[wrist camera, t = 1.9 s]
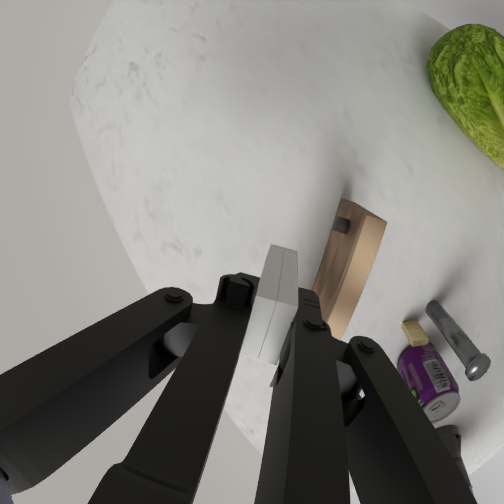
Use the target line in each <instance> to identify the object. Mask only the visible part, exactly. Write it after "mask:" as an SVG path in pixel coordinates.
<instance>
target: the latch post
mask: <svg viewBox="0 0 504 504" xmlns="http://www.w3.org/2000/svg"><path fill="white" fill-rule="evenodd" d="M426 313H427V315H428V316H429V317H430V319H431V320H432V321H433V323H434V324H435V325H436V327H437V328H438V329H439V331H440V332H441V333H442V335H443V336H444V337H445V339H446V340H447V342H448V343H449V344H450V346H451V347H452V349H453V350H454V352H455V353H456V354H457V356H458V357H459V359H460V360H461V362H462V363H463V365H464V366H465V368H466V370H465V374H466V376H467V378H468V379H469V380H470V381H475V380H477V379H479V378H481V377H482V376H483V375H484V374H485V373H486V372H487V370H488V369H489V367H490V363H491V361H490V359H489V357H488V356H487V355H486V354H484V353H482V354H481V353H480V351H479V350H478V349H477V348H476V346H475V345H474V344H473V343H472V341H471V340H470V339H469V338H468V336H467V335H466V334H465V333H464V332H463V330H462V329H461V328H460V327H459V326H458V324H457V323H456V322H455V321H454V320H453V319H452V317H451V316H450V315H449V314H448V313H447V312H446V311H445V309H444V308H443V307H442V306H441V305H440V304H439V303H438V302H437V301H431V302H430V303H429V304H428V305H427V307H426Z"/></svg>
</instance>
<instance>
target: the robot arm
mask: <svg viewBox="0 0 504 504" xmlns="http://www.w3.org/2000/svg"><path fill="white" fill-rule="evenodd" d="M320 308H321V307H320V301H319V297H318V296H317V294H316V293H315V292H314V291H311V290H307V289H303V288H299V287H298V260H297V251H295V250H291V249H287V248H284V247H280V246H276V245H273V244H271V245H270V249H269V252H268V255H267V258H266V262H265V265H264V268H263V271H262V274H261V278H259V277H256V276H252V275H248V274H245V273H241V272H240V273H237V274H235V275H233V274H228V275H224V276H222V277H221V278H220V281H219V286H218V291H217V296H216V299H215V301H214V303H213V304H196V303H193V297H192V296H191V295H190V293H188V292H186V291H185V290H182V289H180V288H175V287H168V288H162V289H159V290H157V291H155V292H153V293H151V294H149V295H148V296H146V297H144V298H142V299H140V300H138V301H136V302H134V303H133V304H131V305H129V306H127V307H125V308H123V309H121V310H119V311H118V312H115V313H114V314H112V315H110V316H108V317H106V318H104V319H102V320H100V321H98V322H97V323H95V324H93V325H91V326H89V327H87V328H85V329H84V330H82V331H80V332H78V333H76V334H74V335H73V336H71V337H69V338H67V339H65V340H63V341H61V342H59V343H58V344H56V345H54V346H52V347H50V348H48V349H46V350H45V351H43V352H41V353H39V354H37V355H36V356H34V357H32V358H30V359H28V360H26V361H24V362H23V363H21V364H19V365H17V366H15V367H13V368H12V369H10V370H8V371H6V372H4V373H3V374H1V375H0V504H14V503H13V501H12V496H11V495H12V494H16V493H20V492H22V491H25V490H27V489H29V488H31V487H34V486H35V485H37V484H38V483H40V482H41V481H43V480H44V479H46V478H47V477H48V476H50V475H51V474H52V473H53V472H55V471H56V470H57V469H59V468H60V467H61V466H62V465H64V464H65V463H66V462H67V461H68V460H70V459H71V458H72V457H73V456H75V455H76V454H77V453H78V452H80V451H81V450H82V449H83V448H84V447H86V446H87V445H88V444H89V443H90V442H92V441H93V440H94V439H95V438H96V437H98V436H99V435H100V434H101V433H102V432H103V431H105V430H106V429H107V428H108V427H109V426H111V425H112V424H113V423H114V422H115V421H116V420H118V419H119V418H120V417H121V416H122V415H123V414H125V413H126V412H127V411H128V410H129V409H130V408H131V407H132V406H134V405H135V404H136V403H137V402H138V401H139V400H140V399H142V398H143V397H144V396H145V395H146V394H147V393H148V392H150V390H152V389H153V388H154V387H155V386H156V385H157V384H159V383H160V382H161V381H162V380H163V379H164V378H165V377H166V376H167V375H168V374H169V373H171V372H172V371H173V370H174V369H175V368H176V369H175V371H174V373H173V374H172V376H171V378H170V380H169V381H168V383H167V385H166V387H165V389H164V390H163V392H162V394H161V396H160V397H159V399H158V401H157V403H156V405H155V406H154V408H153V410H152V412H151V413H150V415H149V417H148V419H147V420H146V422H145V424H144V426H143V427H142V429H141V431H140V433H139V435H138V436H137V438H136V440H135V442H134V443H133V445H132V447H131V449H130V451H129V453H128V454H127V456H126V458H125V459H124V460H123V461H122V462H121V463H118V464H114V465H113V466H112V467H111V468H110V469H108V471H107V472H106V474H105V475H104V476H103V478H102V480H101V481H100V483H99V485H98V487H97V488H96V490H95V492H94V494H93V495H92V497H91V499H90V500H89V502H88V504H193V501H194V498H195V495H196V492H197V489H198V486H199V483H200V479H201V476H202V473H203V470H204V467H205V464H206V461H207V458H208V455H209V452H210V449H211V445H212V442H213V439H214V436H215V433H216V430H217V427H218V424H219V420H220V417H221V414H222V411H223V408H224V404H225V401H226V398H227V395H228V391H229V388H230V385H231V381H232V378H233V375H234V372H235V368H236V365H237V362H238V358H239V355H240V356H244V357H247V358H251V359H255V360H258V361H262V362H266V363H270V364H274V365H277V362H278V360H279V357H280V360H279V365H278V367H277V370H276V372H275V375H274V377H273V380H272V382H271V384H270V387H273V393H272V400H271V407H270V414H269V420H268V427H267V433H266V439H265V446H264V452H263V458H262V464H261V470H260V475H259V481H258V486H257V491H256V497H255V503H254V504H350V486H349V472H350V475H351V478H352V481H353V484H354V486H355V489H356V492H357V495H358V498H359V501H360V503H361V504H477V502H476V500H475V498H474V496H473V491H472V486H471V483H470V480H469V478H468V474H467V471H466V469H465V466H464V463H463V460H462V458H461V435H460V432H459V430H458V428H457V427H456V426H445V427H441V428H438V429H435V428H434V426H433V425H432V423H431V421H430V420H429V418H428V417H427V415H426V413H425V412H424V410H423V409H422V407H421V406H420V404H419V403H418V401H417V399H416V398H415V396H414V395H413V393H412V392H411V390H410V389H409V387H408V386H407V384H406V383H405V381H404V380H403V378H402V377H401V375H400V374H399V372H398V371H397V369H396V368H395V367H394V365H393V364H392V362H391V361H390V359H389V358H388V356H387V355H386V353H385V352H384V351H383V349H382V348H381V347H380V346H379V344H378V343H376V342H375V341H373V340H372V339H370V338H368V337H363V336H354V337H353V338H351V339H350V342H349V344H348V343H345V342H343V341H341V340H338V339H336V338H334V337H333V336H332V334H331V329H330V327H329V325H328V324H327V323H326V322H325V321H324V320H322V314H321V309H320ZM361 389H362V390H363V392H364V394H365V396H364V397H363V398H361V397H360V395H359V393H360V391H361ZM348 469H349V470H348Z"/></svg>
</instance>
